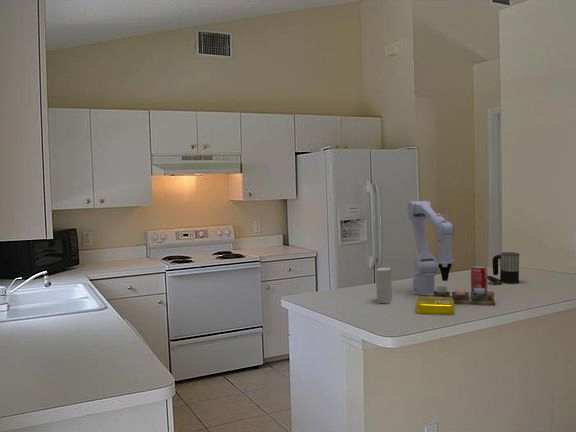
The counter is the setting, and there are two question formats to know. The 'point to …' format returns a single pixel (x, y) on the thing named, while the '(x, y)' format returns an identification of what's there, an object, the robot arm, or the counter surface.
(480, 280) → the soda can
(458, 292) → the terracotta button
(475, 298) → the panel
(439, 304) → the element tile
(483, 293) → the slate button
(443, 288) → the sage button
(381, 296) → the skincare box
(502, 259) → the milk frother
